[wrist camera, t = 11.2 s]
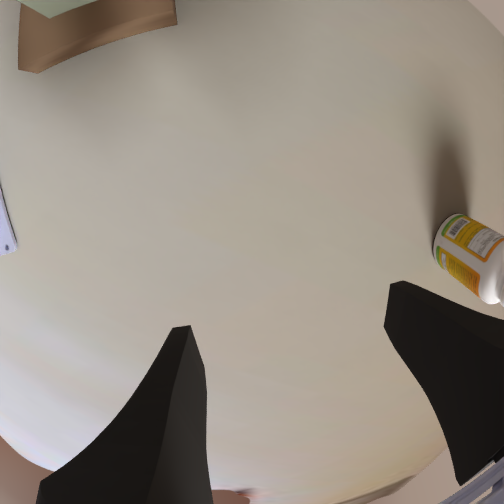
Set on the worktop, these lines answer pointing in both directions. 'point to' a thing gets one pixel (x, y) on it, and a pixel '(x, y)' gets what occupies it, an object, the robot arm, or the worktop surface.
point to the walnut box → (86, 29)
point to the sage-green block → (54, 6)
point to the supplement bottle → (472, 256)
